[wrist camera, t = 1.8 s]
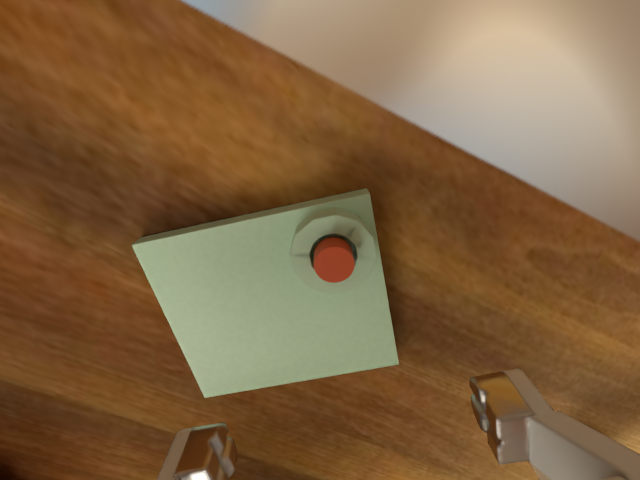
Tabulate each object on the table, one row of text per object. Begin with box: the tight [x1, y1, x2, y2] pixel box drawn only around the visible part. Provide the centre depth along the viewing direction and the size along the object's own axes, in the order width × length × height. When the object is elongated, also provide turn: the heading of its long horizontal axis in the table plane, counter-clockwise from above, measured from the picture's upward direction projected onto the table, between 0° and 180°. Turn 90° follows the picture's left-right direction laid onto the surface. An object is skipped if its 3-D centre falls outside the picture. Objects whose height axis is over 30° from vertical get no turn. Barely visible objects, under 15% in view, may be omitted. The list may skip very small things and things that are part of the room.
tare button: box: [314, 237, 355, 283], centre depth 20 cm, size 2×2×2 cm
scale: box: [132, 188, 399, 398], centre depth 24 cm, size 16×14×3 cm
